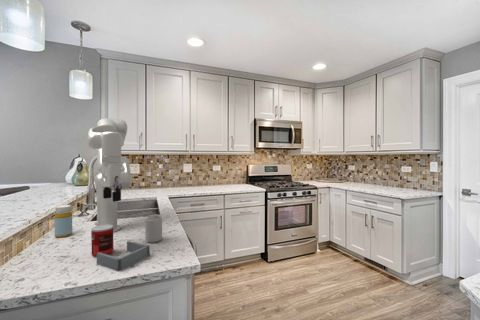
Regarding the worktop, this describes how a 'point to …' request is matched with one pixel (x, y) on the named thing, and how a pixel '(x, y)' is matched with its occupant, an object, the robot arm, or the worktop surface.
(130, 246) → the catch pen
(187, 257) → the worktop surface
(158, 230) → the can
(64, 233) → the bottle
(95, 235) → the canned food
